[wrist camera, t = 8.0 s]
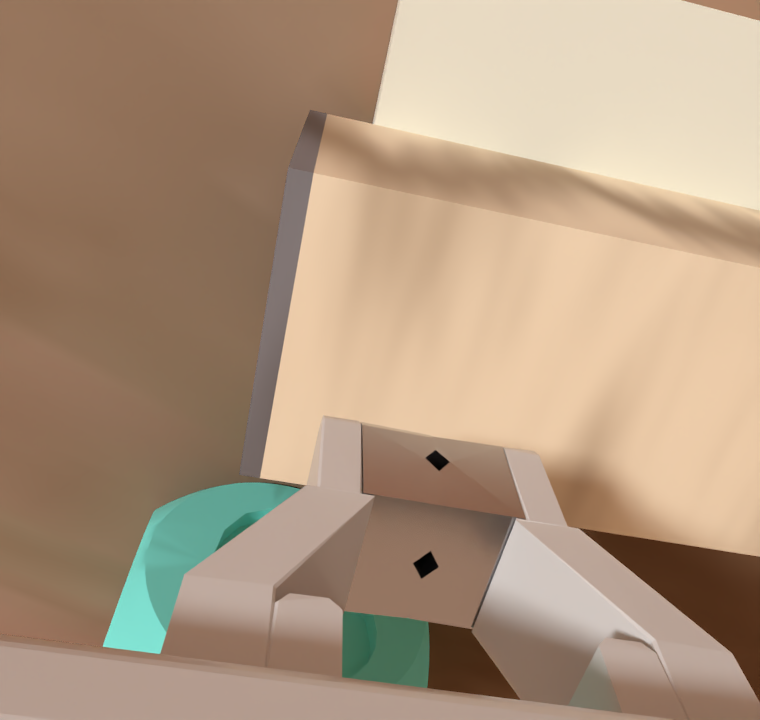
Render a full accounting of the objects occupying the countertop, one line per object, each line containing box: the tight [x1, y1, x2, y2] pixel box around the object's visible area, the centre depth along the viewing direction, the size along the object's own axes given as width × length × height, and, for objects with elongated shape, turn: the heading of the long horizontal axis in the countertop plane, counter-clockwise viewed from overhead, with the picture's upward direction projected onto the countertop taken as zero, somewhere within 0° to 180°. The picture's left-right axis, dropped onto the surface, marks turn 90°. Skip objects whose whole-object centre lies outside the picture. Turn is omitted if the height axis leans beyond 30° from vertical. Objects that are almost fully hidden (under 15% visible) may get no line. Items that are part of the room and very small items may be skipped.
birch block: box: [239, 110, 760, 557], centre depth 16 cm, size 6×6×12 cm
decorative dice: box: [103, 483, 429, 688], centre depth 21 cm, size 8×8×8 cm
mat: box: [373, 0, 760, 210], centre depth 19 cm, size 13×14×1 cm
